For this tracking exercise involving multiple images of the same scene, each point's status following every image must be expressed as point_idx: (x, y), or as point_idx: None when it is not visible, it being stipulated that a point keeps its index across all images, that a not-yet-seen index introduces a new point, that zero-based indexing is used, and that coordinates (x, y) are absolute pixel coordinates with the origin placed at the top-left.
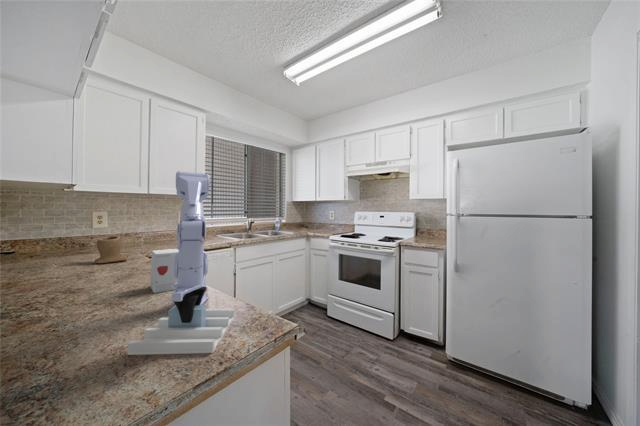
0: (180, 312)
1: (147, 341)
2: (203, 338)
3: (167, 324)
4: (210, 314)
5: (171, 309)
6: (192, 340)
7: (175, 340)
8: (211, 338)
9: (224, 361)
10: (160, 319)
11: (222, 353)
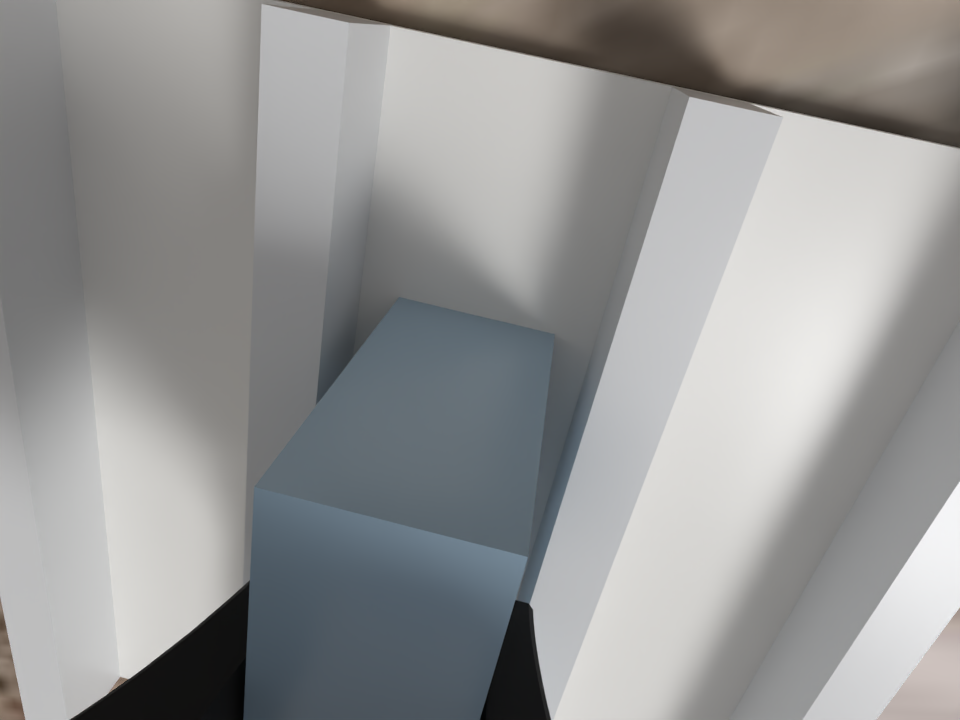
0: (169, 666)
1: None
2: None
3: (628, 245)
4: (769, 700)
5: (300, 533)
6: (32, 611)
7: (14, 483)
8: None
9: (10, 698)
10: (687, 137)
11: None
